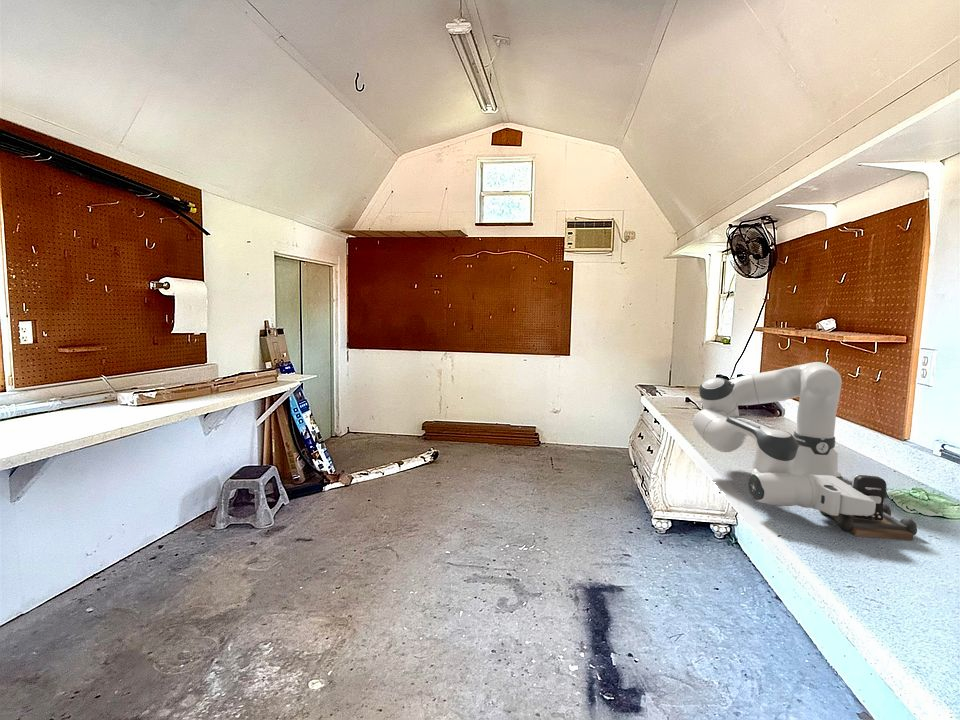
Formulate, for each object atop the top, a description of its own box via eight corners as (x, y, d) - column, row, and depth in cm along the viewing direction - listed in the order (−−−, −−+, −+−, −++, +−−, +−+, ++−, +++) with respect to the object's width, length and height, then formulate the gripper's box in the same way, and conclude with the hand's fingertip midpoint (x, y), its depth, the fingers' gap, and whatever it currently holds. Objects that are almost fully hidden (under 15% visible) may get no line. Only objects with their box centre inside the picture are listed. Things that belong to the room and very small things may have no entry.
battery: (856, 519, 131) (858, 476, 131) (849, 515, 135) (851, 473, 135) (887, 523, 130) (889, 479, 129) (880, 518, 133) (882, 475, 133)
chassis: (815, 509, 144) (816, 495, 143) (877, 513, 141) (879, 499, 141) (849, 535, 127) (850, 520, 127) (920, 541, 125) (922, 525, 124)
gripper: (797, 489, 145) (849, 492, 143) (835, 518, 125) (897, 523, 123) (799, 467, 144) (851, 471, 142) (837, 494, 124) (899, 498, 122)
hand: (873, 495), depth 132 cm, fingers closed on battery, 4 cm apart
